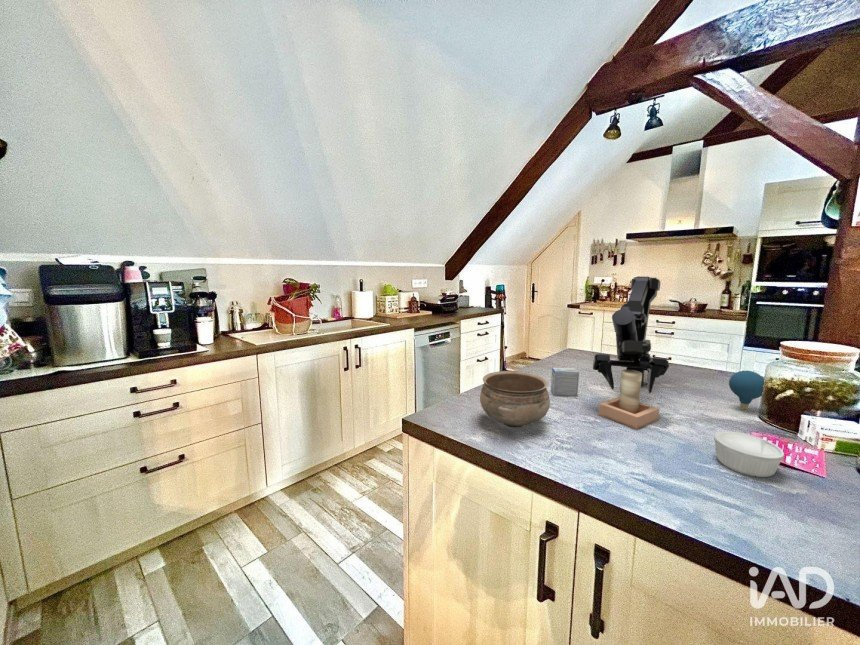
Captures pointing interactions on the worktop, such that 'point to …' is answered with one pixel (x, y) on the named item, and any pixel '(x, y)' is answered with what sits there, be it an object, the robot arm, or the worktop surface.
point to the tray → (628, 414)
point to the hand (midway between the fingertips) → (631, 390)
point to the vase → (630, 391)
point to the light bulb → (746, 386)
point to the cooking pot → (515, 397)
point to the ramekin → (747, 453)
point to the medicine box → (564, 381)
